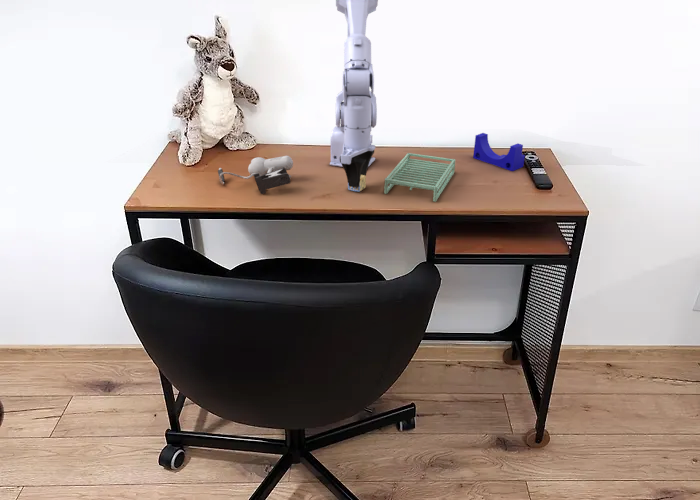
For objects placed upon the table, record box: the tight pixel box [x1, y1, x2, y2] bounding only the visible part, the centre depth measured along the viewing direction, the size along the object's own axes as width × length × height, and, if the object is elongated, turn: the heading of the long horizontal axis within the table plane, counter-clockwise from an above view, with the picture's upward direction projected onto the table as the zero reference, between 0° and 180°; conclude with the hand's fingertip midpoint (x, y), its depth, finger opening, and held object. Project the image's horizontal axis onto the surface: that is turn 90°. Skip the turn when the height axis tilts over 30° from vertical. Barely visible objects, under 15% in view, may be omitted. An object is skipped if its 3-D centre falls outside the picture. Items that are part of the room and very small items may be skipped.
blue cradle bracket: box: [473, 132, 526, 172], centre depth 158 cm, size 12×4×6 cm, turn 42°
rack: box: [383, 152, 456, 203], centre depth 147 cm, size 18×12×4 cm, turn 159°
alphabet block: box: [347, 175, 367, 192], centre depth 143 cm, size 3×3×3 cm
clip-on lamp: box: [217, 155, 294, 195], centre depth 145 cm, size 12×6×18 cm
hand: (356, 183), depth 143 cm, fingers closed on alphabet block, 3 cm apart
